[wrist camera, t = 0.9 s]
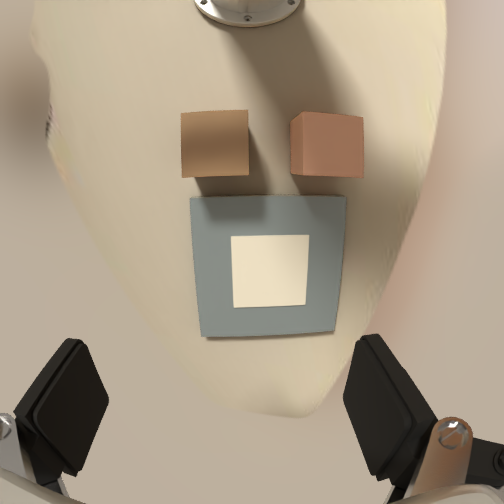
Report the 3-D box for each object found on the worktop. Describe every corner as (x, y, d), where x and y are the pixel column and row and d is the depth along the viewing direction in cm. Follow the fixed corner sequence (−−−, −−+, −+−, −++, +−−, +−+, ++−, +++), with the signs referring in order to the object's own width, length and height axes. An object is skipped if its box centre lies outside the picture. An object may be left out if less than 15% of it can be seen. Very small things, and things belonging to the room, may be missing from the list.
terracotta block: (290, 121, 27) (302, 111, 21) (340, 125, 27) (363, 117, 21) (290, 173, 28) (303, 175, 23) (340, 174, 29) (363, 177, 23)
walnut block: (192, 123, 26) (180, 113, 21) (246, 121, 27) (248, 109, 21) (193, 175, 28) (182, 177, 22) (246, 173, 28) (249, 175, 23)
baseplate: (191, 197, 29) (189, 198, 27) (342, 195, 29) (347, 197, 28) (202, 331, 33) (201, 337, 32) (331, 325, 34) (334, 331, 33)
